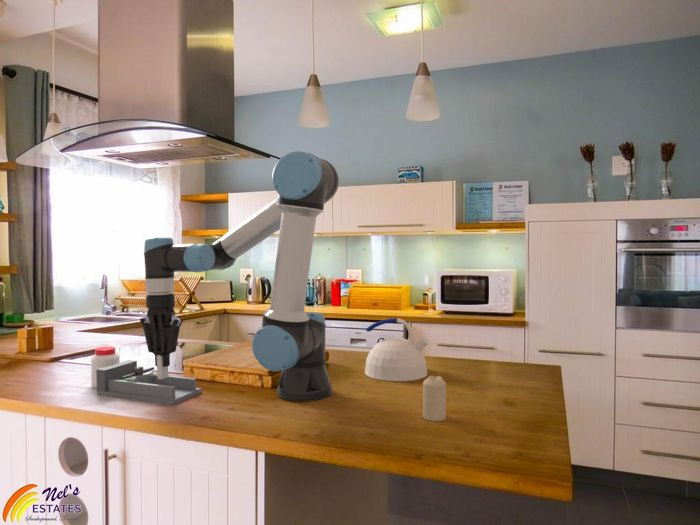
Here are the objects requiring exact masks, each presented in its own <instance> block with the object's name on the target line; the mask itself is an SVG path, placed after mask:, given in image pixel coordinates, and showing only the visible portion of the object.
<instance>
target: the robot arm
mask: <svg viewBox="0 0 700 525" xmlns="http://www.w3.org/2000/svg"><path fill="white" fill-rule="evenodd" d="M271 176H272V177H271V178H272V179H271V180H272V185H273V188H274V189H275V190H276V193H277V198H275V199H274V200H273V201H271V202H270V203H268V204H267V205H265V206H264V207H262V208H261V209H259V210H258V211H257V212H255V213H254V214H252V215H251V216H250V217H248V218H247V219H245V220H244V221H242V222H241V223H240V224H238V225H237V226H235V227H233V229H231V230H230V231H228V232H227V233H225V234H224V235H222V237H220V238H219V239H217V240H216V241H214V242H213V243H197V242H196V243H186V244H185V243H184V244H182V243H181V244H176V243H174V239H173V238H171V237H147V238H145V240H144V249H143V250H144V251H143V257H144V270H145V271H144V272H145V273H144V274H145V276H144V278H145V281H144V282H145V293H146V296H145V307H146V309H148V310H147V312H146V316H144V317H142V318H140V319H139V322H140V324H141V326H142V328H143V332H144V337H145V342H146V346H147V351H148V352H149V353H152V354H153V355H154V363H155V367H156V374H157V379H164V378H167V377H168V375H169V367H170V365H171V363H170V362H171V361H170V359H171V358H170V356H171V354H172V353H175V352H176V351H177V345H178V338H179V335H180V334H179V333H180V328H181V326H182V324H183V320H184V319H183V318H179V317H178V316H176V312H175V310H174V309H175V306H176V294H175V293H173V292H175V273H177V272H180V273H190V272H191V273H203V272H204V273H205V272H209V271H215V270H217V271H221V270H226V269H229V268H231V267H233V265H234V264H235V262H236V261H237V259H238V258H239V257H241V256H242V255H244V254H245V253H247V252H248V251H250V250H251V249H253V248H254V247H256V246H257V245H259V244H260V243H262V242H263V241H265V240H266V239H267V238H269V237H270V236H273V234H275V233H276V232H278V231H279V234H278V242H277V249H276V251H277V252H276V259H275V265H274V266H275V267H274V273H273V284H272V289H271V299H270V306H269V308H267V309H266V310H265V311H264V312H263V314H262V322H261V327H260V328H259V329H258V330H257V331H256V332H255V334H254V336H253V337H252V341H251V347H252V348H251V349H252V353H253V356H254V358H255V359H256V360H257V362H258V363H259V365H260V366H262V367H263V368H265V369H266V370H269V371H272V372H280V371H281V374H280V378H279V381H278V385H277V388H276V391H277V396H278V397H279V398H280V399H282V400H286V401H290V402H291V401H292V402H313V401H319V400H323V399H327V398H328V397H330V396H331V395H332V393H333V392H332V389H333V388H332V382H331V379H330V377H329V373H328V370H327V367H326V327H327V325H326V320H325V319H326V317H325V315H324V314H323V313H322V312H306V311H305V306H306V298H307V292H308V283H309V276H310V267H311V260H312V253H313V252H312V251H313V243H314V237H315V228H316V222H317V217H318V216H319V215H320V214H322V213H323V212H324V207H325V206H324V205H325V204H326V203H328V202H329V201H330V200H331V199H333V198H334V196H335V195H336V194H337V191H338V189H339V184H340V179H339V174H338V171H337V170H336V168H335V167H334V165H333V164H332V163H330V162H329V161H328V160H325V159H324V158H320V157H318V156H316V155H314V154H313V153H311V152H307V151H306V152H305V151H299V150H298V151H297V150H296V151H291V152H289V153H285V155H283V156H282V157H280V158H279V159H278V160H277V162H276V163H275V165H274V167H273V171H272V175H271Z"/></svg>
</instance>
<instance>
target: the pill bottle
mask: <svg viewBox="0 0 700 525" xmlns="http://www.w3.org/2000/svg"><path fill="white" fill-rule="evenodd" d="M90 363H91V364H90V365H91V366H90V368H91V372H90V374H91V375H90V376H91V387H92V388H95V389H97V374H96V369H100V368H103V367H107V366H110V365H114V364H117V363H121V359H120V355H119V354H118V353H117V352H116V347H115V346H102V347H96V348H95V349H94V354H93V356H91V358H90Z"/></svg>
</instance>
